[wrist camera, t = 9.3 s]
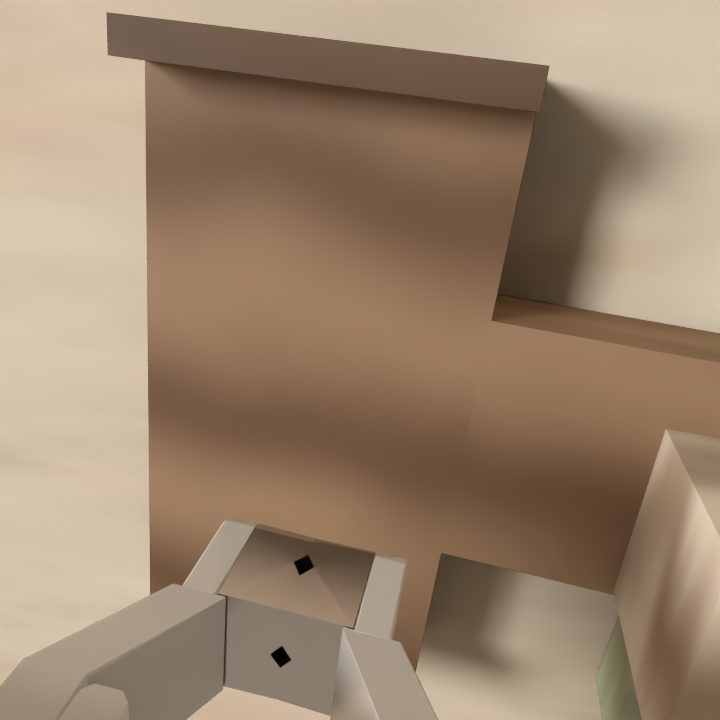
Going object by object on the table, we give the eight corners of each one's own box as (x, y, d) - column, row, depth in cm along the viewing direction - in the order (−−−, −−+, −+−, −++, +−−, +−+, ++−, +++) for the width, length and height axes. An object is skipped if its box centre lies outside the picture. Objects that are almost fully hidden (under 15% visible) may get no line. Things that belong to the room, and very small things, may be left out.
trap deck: (194, 34, 17) (106, 12, 13) (1165, 153, 13) (1411, 170, 10) (184, 569, 24) (126, 652, 20) (819, 736, 20) (887, 873, 17)
